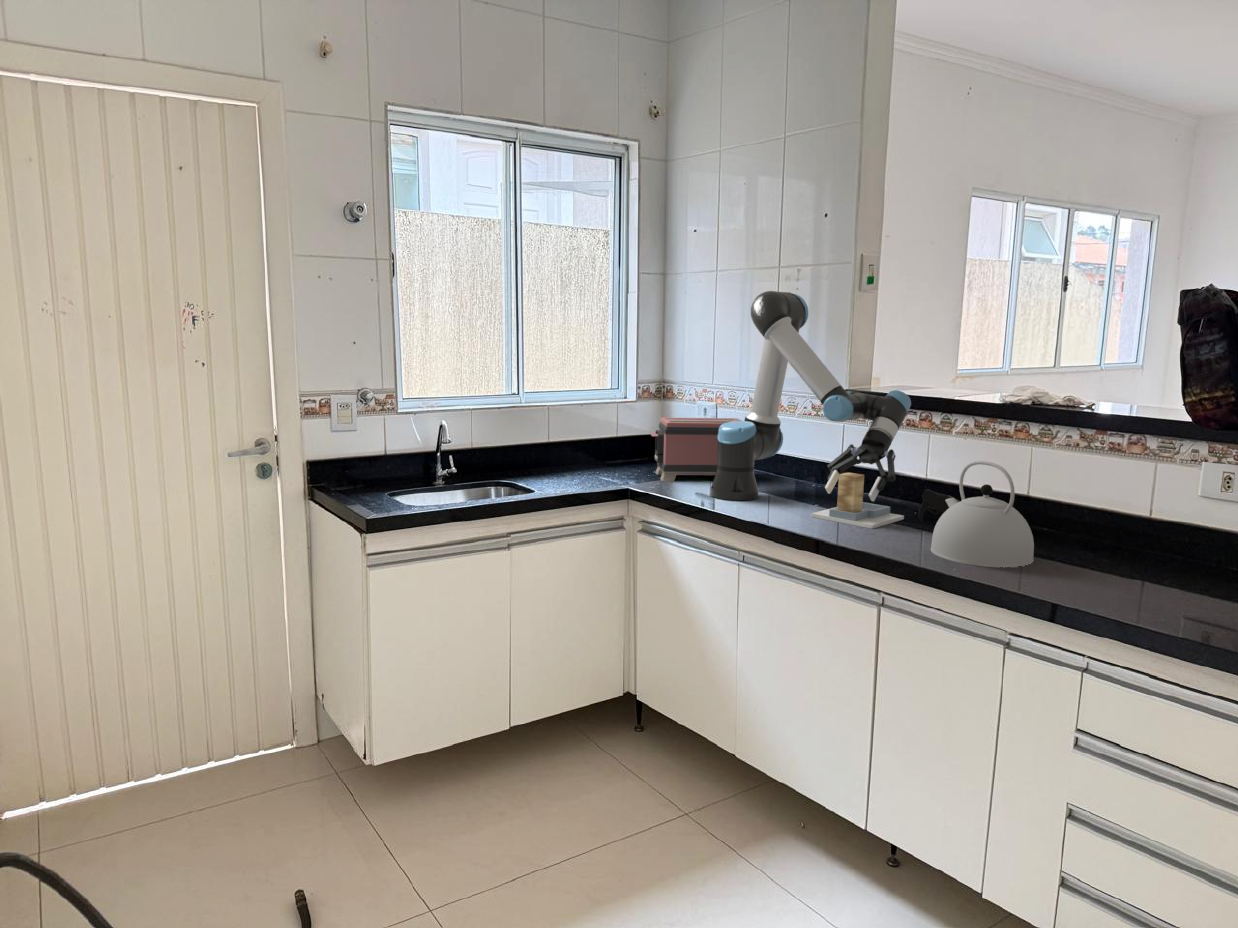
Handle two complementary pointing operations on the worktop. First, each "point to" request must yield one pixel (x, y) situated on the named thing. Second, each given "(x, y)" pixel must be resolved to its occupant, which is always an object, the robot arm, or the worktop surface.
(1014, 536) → the kettle
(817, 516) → the grey shape fitting board
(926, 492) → the gun
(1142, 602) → the worktop surface
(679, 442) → the toaster
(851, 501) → the block
